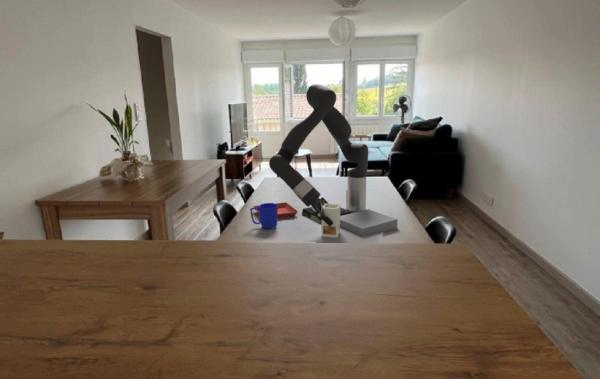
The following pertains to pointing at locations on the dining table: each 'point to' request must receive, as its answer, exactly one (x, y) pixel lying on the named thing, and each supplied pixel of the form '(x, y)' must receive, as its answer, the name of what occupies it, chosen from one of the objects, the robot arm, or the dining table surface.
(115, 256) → the dining table surface
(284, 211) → the plant saucer
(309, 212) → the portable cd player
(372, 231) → the dock
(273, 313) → the dining table surface
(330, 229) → the block
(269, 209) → the mug
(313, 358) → the dining table surface
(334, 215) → the white hollow square box
